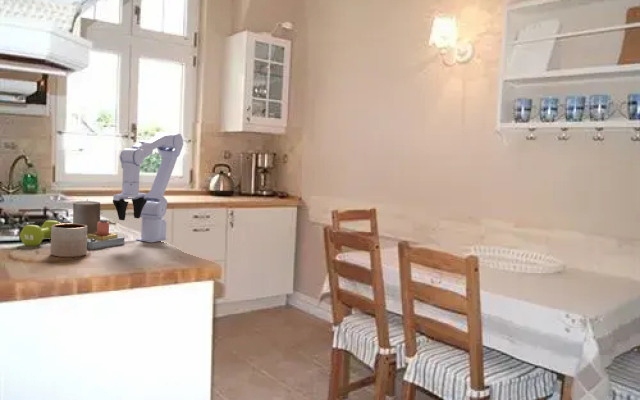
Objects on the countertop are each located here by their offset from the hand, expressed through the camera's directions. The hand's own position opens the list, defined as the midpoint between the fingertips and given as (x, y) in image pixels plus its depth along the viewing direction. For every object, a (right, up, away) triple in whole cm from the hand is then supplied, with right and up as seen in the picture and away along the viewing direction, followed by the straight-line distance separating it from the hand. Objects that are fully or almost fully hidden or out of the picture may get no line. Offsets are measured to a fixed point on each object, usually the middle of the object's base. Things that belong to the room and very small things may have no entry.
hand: (129, 219), depth 200 cm
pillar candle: (-20, -8, +11) cm, 24 cm away
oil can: (-10, -7, 0) cm, 12 cm away
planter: (-13, -11, -20) cm, 26 cm away
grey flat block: (-12, -9, -2) cm, 15 cm away
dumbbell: (-30, -9, -3) cm, 32 cm away
